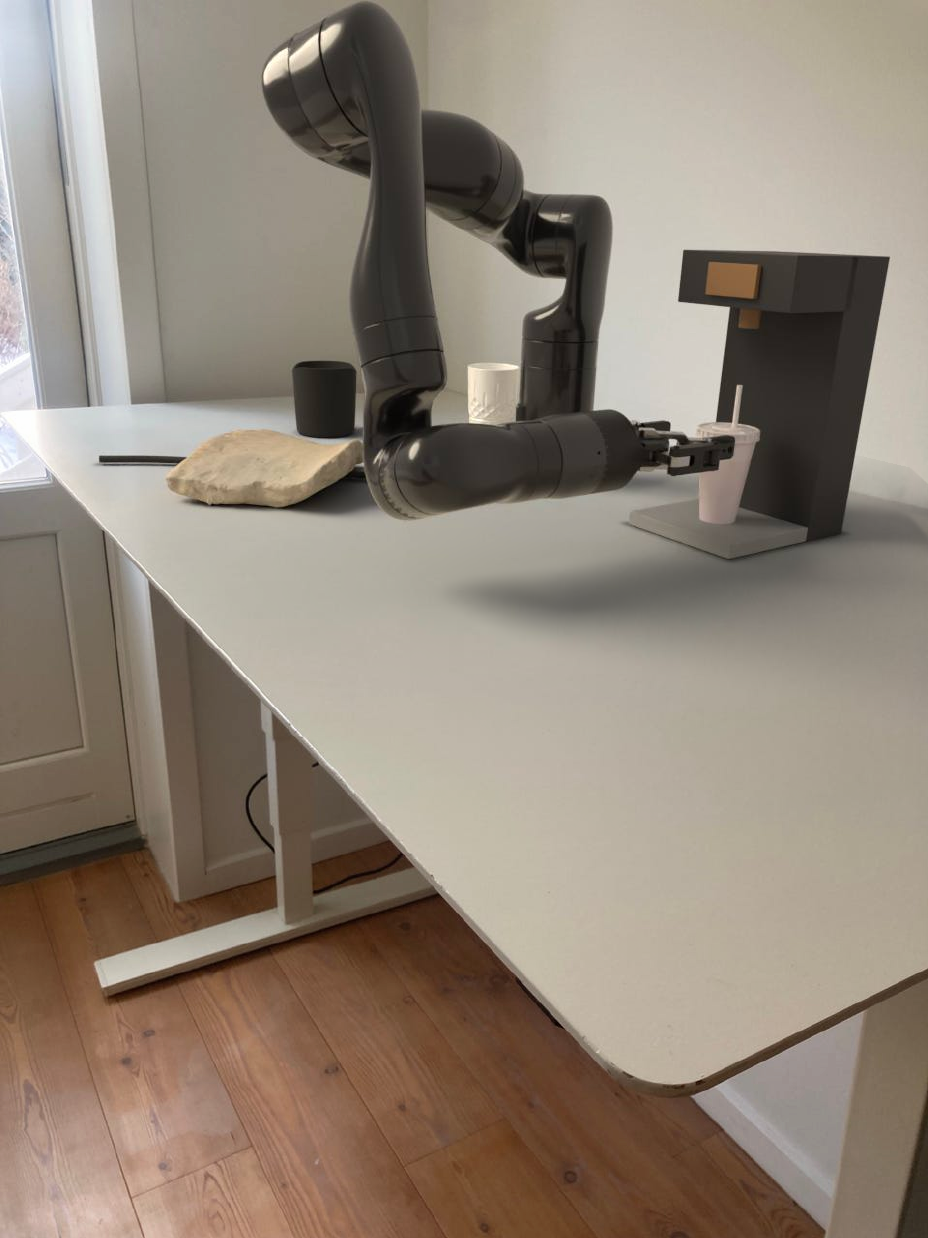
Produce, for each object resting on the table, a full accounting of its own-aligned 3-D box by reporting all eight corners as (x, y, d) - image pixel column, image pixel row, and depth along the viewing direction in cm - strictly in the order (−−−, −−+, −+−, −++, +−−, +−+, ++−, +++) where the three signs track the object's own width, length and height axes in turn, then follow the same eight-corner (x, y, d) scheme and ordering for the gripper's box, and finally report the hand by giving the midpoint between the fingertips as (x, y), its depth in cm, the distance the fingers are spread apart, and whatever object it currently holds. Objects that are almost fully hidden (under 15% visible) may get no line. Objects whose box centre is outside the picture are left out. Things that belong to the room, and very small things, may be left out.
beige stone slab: (389, 473, 129) (244, 448, 132) (394, 417, 126) (246, 392, 129) (327, 531, 107) (156, 500, 110) (331, 464, 104) (154, 434, 107)
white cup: (500, 439, 148) (503, 371, 144) (455, 433, 152) (457, 366, 148) (525, 431, 154) (529, 366, 151) (482, 425, 158) (484, 361, 154)
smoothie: (749, 530, 101) (769, 391, 96) (685, 524, 102) (701, 387, 97) (746, 513, 107) (764, 382, 102) (686, 508, 108) (701, 378, 103)
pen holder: (369, 431, 151) (369, 364, 147) (329, 441, 143) (328, 370, 140) (321, 424, 155) (320, 358, 152) (281, 433, 148) (278, 364, 144)
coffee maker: (728, 559, 97) (769, 254, 87) (628, 524, 107) (654, 248, 97) (841, 533, 107) (890, 256, 96) (739, 503, 117) (773, 251, 107)
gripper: (634, 426, 84) (760, 412, 92) (529, 401, 94) (651, 390, 103) (626, 512, 86) (749, 490, 95) (525, 478, 97) (644, 461, 106)
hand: (698, 438), depth 99 cm, fingers open, 8 cm apart
